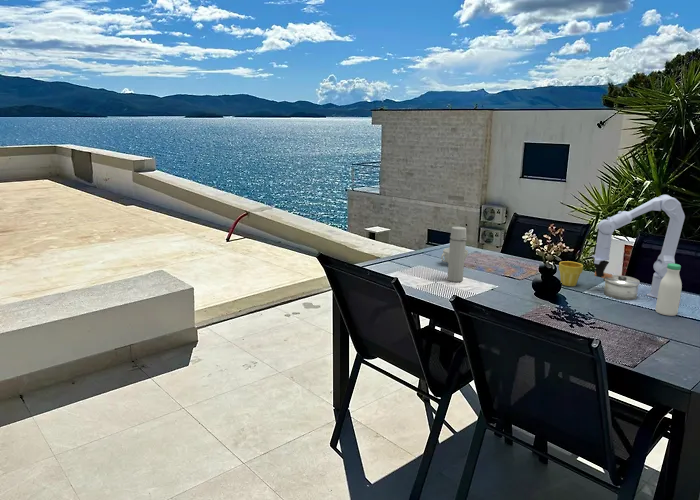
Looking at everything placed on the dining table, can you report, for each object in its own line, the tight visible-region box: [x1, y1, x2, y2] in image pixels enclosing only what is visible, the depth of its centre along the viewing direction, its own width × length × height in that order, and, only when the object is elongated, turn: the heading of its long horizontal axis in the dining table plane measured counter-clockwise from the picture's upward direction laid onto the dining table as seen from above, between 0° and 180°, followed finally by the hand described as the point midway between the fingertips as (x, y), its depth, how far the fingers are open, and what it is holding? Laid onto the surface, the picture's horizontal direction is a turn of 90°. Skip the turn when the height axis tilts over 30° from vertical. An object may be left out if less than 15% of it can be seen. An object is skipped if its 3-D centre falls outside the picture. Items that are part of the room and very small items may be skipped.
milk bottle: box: [655, 263, 683, 317], centre depth 215 cm, size 8×8×20 cm
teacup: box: [440, 247, 469, 264], centre depth 280 cm, size 15×12×8 cm
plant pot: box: [558, 260, 584, 287], centre depth 252 cm, size 10×10×10 cm
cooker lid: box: [594, 270, 641, 287], centre depth 239 cm, size 19×14×2 cm
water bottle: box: [447, 226, 468, 283], centre depth 252 cm, size 9×8×25 cm
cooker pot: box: [603, 278, 639, 301], centre depth 241 cm, size 18×13×6 cm
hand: (599, 276), depth 243 cm, fingers closed
